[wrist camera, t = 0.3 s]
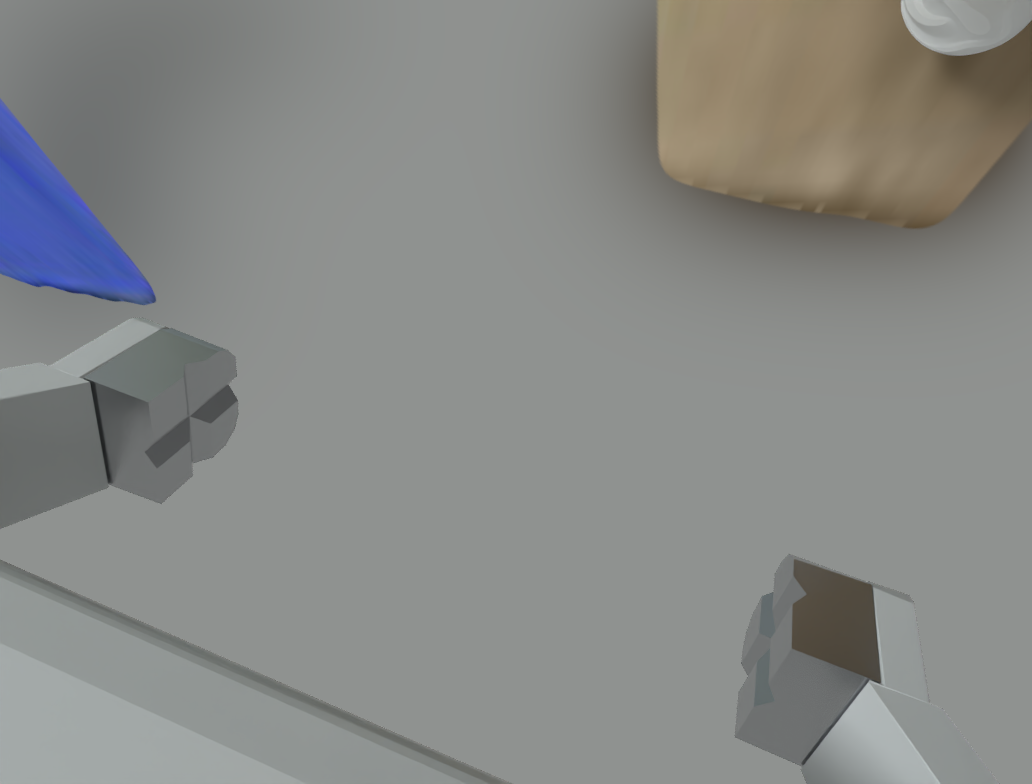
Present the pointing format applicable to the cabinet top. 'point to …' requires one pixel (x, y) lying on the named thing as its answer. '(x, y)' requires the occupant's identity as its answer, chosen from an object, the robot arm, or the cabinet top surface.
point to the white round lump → (965, 23)
